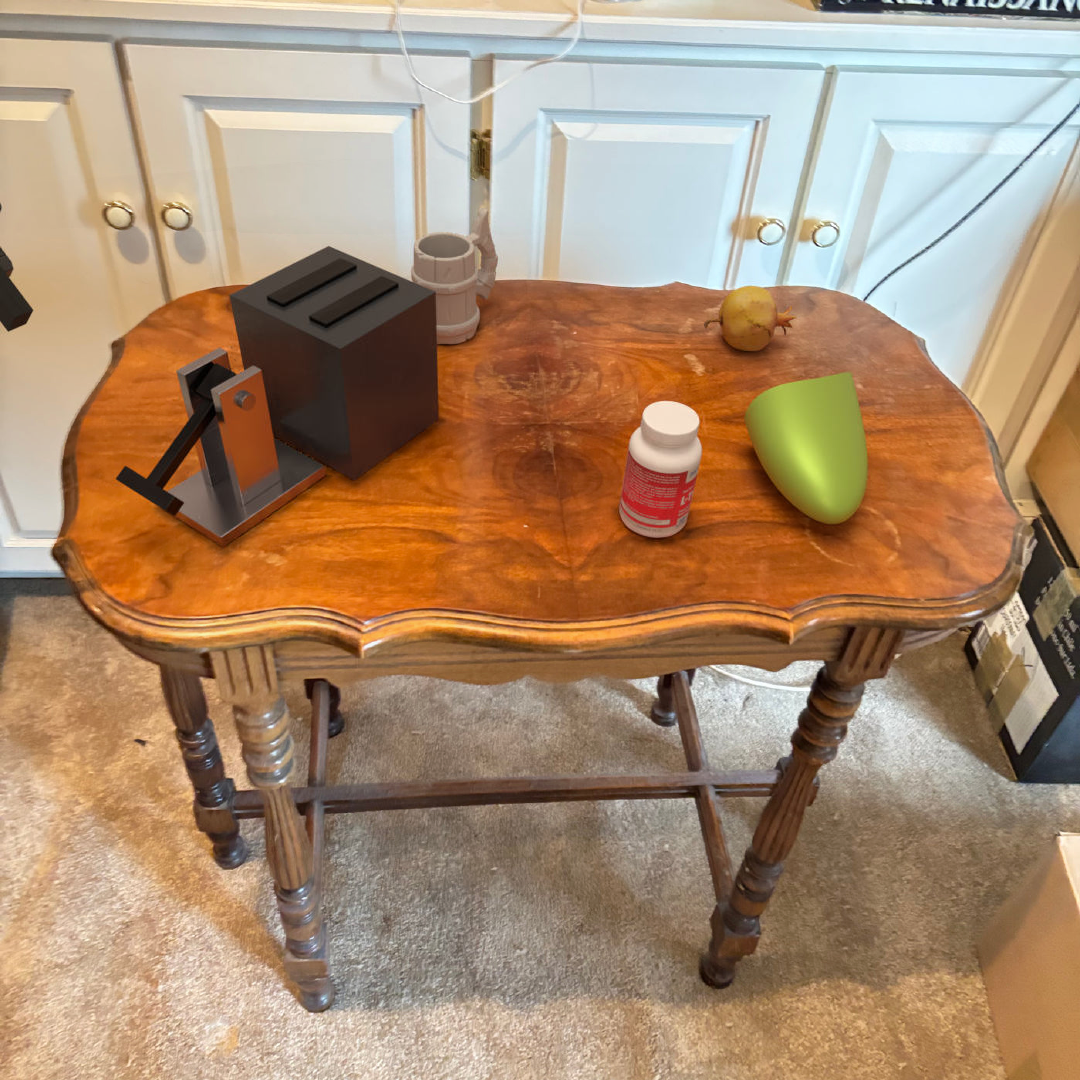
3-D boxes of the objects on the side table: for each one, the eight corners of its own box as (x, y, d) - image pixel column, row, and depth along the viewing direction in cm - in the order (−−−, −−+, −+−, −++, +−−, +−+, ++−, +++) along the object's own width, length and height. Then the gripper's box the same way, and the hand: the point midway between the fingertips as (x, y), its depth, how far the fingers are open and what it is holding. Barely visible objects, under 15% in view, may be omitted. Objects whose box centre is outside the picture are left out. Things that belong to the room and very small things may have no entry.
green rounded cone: (751, 330, 90) (794, 477, 77) (865, 354, 92) (926, 500, 79) (719, 392, 96) (755, 538, 82) (828, 413, 98) (879, 558, 85)
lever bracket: (223, 547, 78) (192, 424, 69) (160, 507, 81) (122, 384, 72) (326, 475, 85) (310, 355, 77) (264, 441, 89) (242, 322, 80)
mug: (396, 327, 104) (390, 225, 96) (469, 290, 111) (470, 191, 102) (445, 355, 101) (444, 251, 92) (517, 314, 107) (522, 214, 99)
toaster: (354, 480, 85) (339, 344, 75) (254, 425, 90) (228, 290, 80) (438, 419, 92) (435, 287, 82) (342, 371, 97) (328, 241, 87)
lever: (179, 519, 74) (160, 507, 72) (129, 487, 76) (110, 476, 74) (266, 395, 76) (251, 381, 74) (216, 368, 78) (199, 353, 76)
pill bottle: (685, 545, 82) (707, 445, 74) (615, 534, 82) (630, 434, 74) (688, 499, 86) (709, 400, 78) (621, 489, 86) (637, 390, 79)
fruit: (713, 315, 99) (807, 318, 99) (707, 269, 102) (798, 272, 103) (701, 360, 105) (790, 362, 105) (696, 315, 108) (782, 317, 108)
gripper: (-318, 6, 57) (-58, 338, 62) (-106, -30, 65) (109, 267, 70) (-309, 77, 63) (-72, 376, 68) (-114, 35, 71) (85, 306, 76)
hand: (20, 320), depth 69 cm, fingers closed
